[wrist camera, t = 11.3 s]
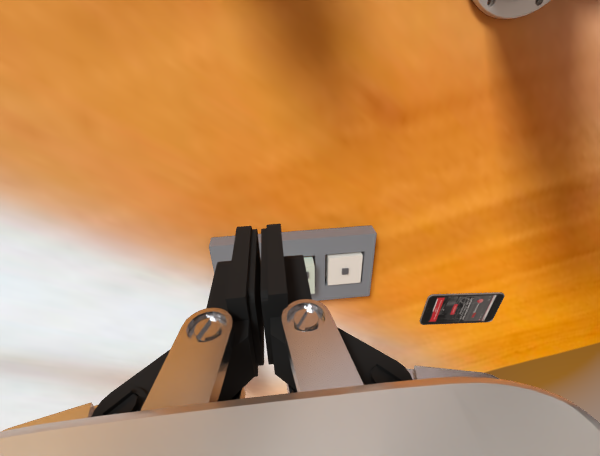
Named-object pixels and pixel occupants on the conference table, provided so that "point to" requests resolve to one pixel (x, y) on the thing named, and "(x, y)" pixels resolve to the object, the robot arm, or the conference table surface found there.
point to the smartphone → (461, 308)
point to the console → (318, 255)
